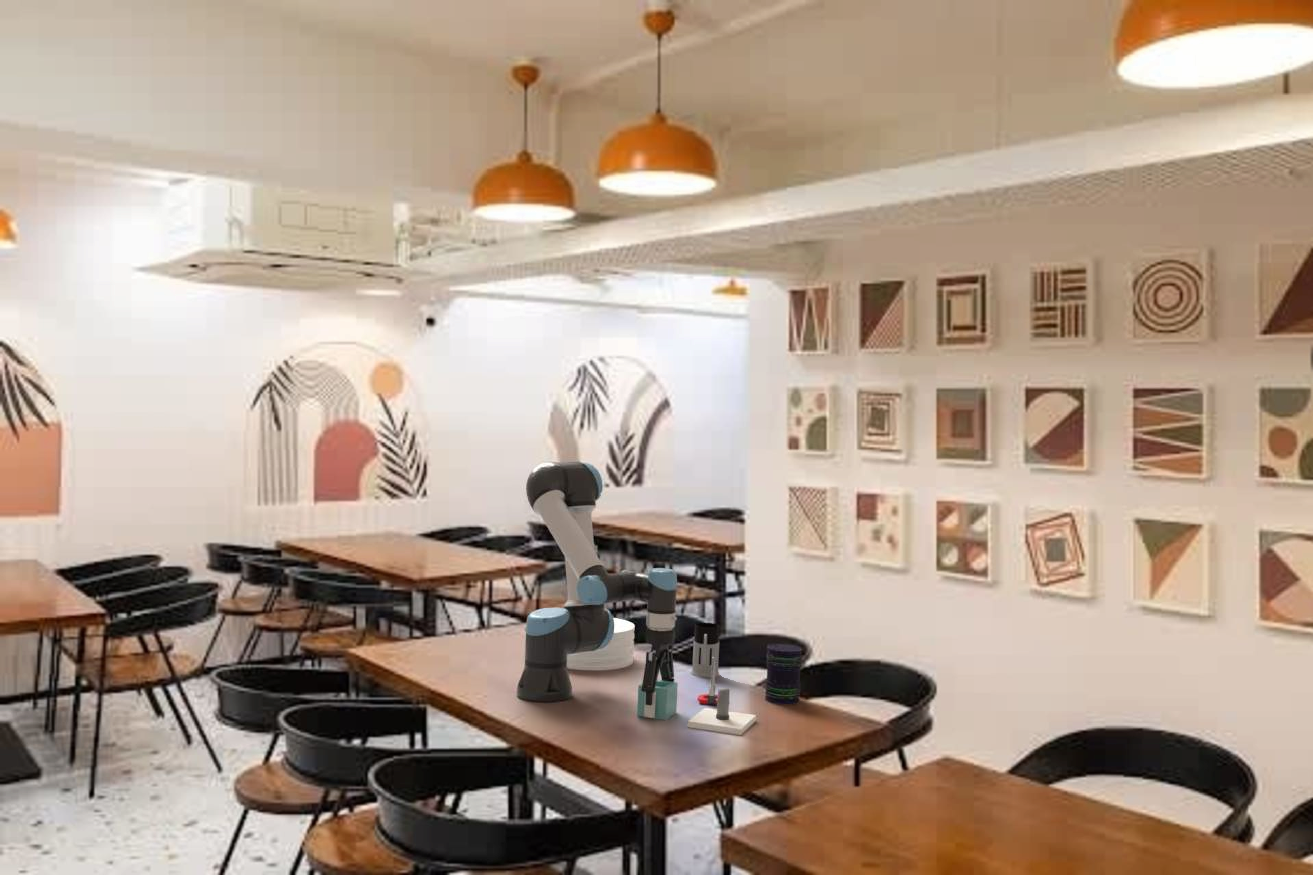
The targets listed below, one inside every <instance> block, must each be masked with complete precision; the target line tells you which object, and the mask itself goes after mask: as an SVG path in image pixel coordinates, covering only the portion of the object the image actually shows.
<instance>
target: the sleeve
mask: <svg viewBox="0 0 1313 875" xmlns="http://www.w3.org/2000/svg"><path fill="white" fill-rule="evenodd" d="M642 684H643V682H642V683H640V684H638V688H637V708H636V709H637V713H636V716H637V717H643V718H646V717H645V716H644V705H645V692H643V691H641V689H642ZM678 685H679V684H678V682H675V681H674V682H670V681H662V679H661V680H660V679H657V682H656V686H655V691H654V692H656V701H655V717H654V718H653V719H655V720H656V719H657V720H663V721H667V720H668V719H670V718H671V717H673V716H674V715H675V714H676V713H677V705H678ZM648 687H649V686H648ZM649 718H650V719H652V718H651V717H648V719H649Z"/></svg>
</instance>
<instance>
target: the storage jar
mask: <svg viewBox="0 0 1313 875" xmlns="http://www.w3.org/2000/svg"><path fill="white" fill-rule="evenodd" d="M802 651H803V648H802V647H801V646H799V645H797V644H793V643H792V644H789V643H770V644H768V645H767V651H766V653H767V654H766V667H767V669H766V670H767V671H766V679H765V687H764V690H765V691H764V692H765V696H764V700H765V701H766V702H769V703H771V704H774V705H775V704H776V705H786V706H790V705H796V704H799V703H800V697H801V696H800V695H801V694H800V693H801V681H800V678H801V669H802V662H803V660H802V659H803V657H802V654H803V653H802Z"/></svg>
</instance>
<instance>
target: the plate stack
mask: <svg viewBox="0 0 1313 875" xmlns="http://www.w3.org/2000/svg"><path fill="white" fill-rule="evenodd" d="M613 619H614V634H613V637H612V639H611V641H610V642H609V644H608V645H607V646H606V647H604V648H602V649H598V650H595V651H587V652H580V653H574V654H567V670H568V669H569V670H576V671H577V670H578V671H608V670H609V671H610V670H611V671H612V670H617V669H623V668H626V667H629V666H631V665H633V663H634V647H635V640H634V639H635V630H636V629H635V626H636V625H635V624H634V623H633V622H630V621H628V620H626V619H623V618H622V619H621V618H617V617H613Z"/></svg>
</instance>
